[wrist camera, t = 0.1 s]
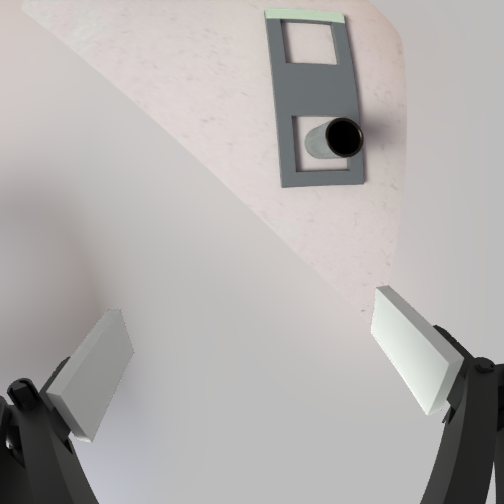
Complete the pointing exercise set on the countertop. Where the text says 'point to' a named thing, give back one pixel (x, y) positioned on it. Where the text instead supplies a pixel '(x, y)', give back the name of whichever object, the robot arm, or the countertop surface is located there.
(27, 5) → the countertop surface
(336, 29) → the panel
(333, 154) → the grey hollow cylinder
